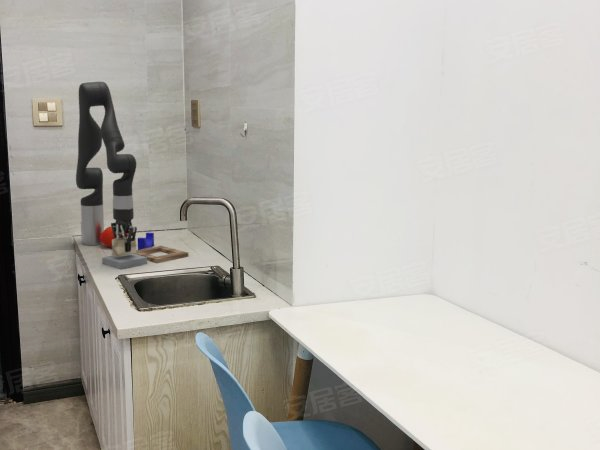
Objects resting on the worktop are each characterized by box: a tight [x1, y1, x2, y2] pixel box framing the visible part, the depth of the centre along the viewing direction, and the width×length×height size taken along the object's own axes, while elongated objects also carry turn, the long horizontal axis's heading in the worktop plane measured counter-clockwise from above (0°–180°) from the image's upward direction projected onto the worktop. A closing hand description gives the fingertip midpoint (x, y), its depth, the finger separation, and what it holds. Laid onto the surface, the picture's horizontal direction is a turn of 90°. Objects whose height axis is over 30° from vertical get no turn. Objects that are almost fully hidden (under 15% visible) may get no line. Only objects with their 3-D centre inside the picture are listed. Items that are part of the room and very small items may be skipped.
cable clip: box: [137, 232, 155, 250], centre depth 265 cm, size 12×4×6 cm, turn 175°
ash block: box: [111, 237, 137, 256], centre depth 240 cm, size 4×8×6 cm, turn 140°
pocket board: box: [134, 245, 189, 264], centre depth 254 cm, size 18×16×2 cm
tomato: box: [100, 226, 129, 248], centre depth 267 cm, size 13×12×8 cm
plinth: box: [101, 254, 148, 270], centre depth 241 cm, size 12×12×2 cm
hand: (124, 250), depth 240 cm, fingers closed on ash block, 4 cm apart
